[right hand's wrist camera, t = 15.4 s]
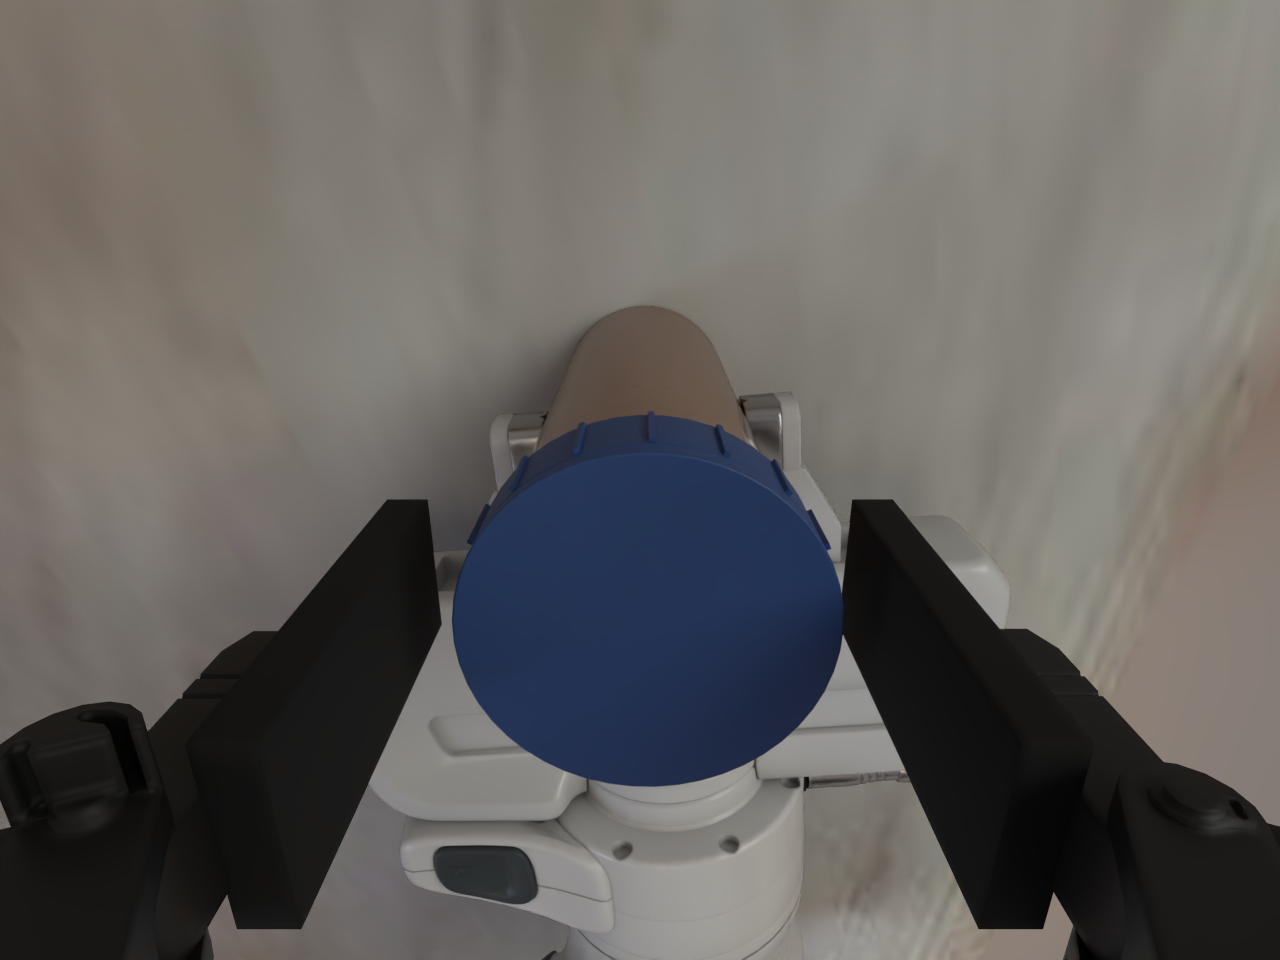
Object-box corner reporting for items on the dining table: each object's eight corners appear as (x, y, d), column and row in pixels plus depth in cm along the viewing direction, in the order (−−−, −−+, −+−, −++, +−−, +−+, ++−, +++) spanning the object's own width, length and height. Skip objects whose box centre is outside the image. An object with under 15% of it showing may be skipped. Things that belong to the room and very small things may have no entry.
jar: (542, 415, 27) (426, 680, 12) (610, 276, 25) (566, 398, 10) (675, 480, 28) (712, 797, 13) (750, 351, 26) (887, 556, 11)
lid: (420, 639, 14) (388, 705, 12) (562, 342, 12) (549, 370, 10) (710, 760, 15) (720, 838, 13) (889, 508, 13) (928, 560, 11)
